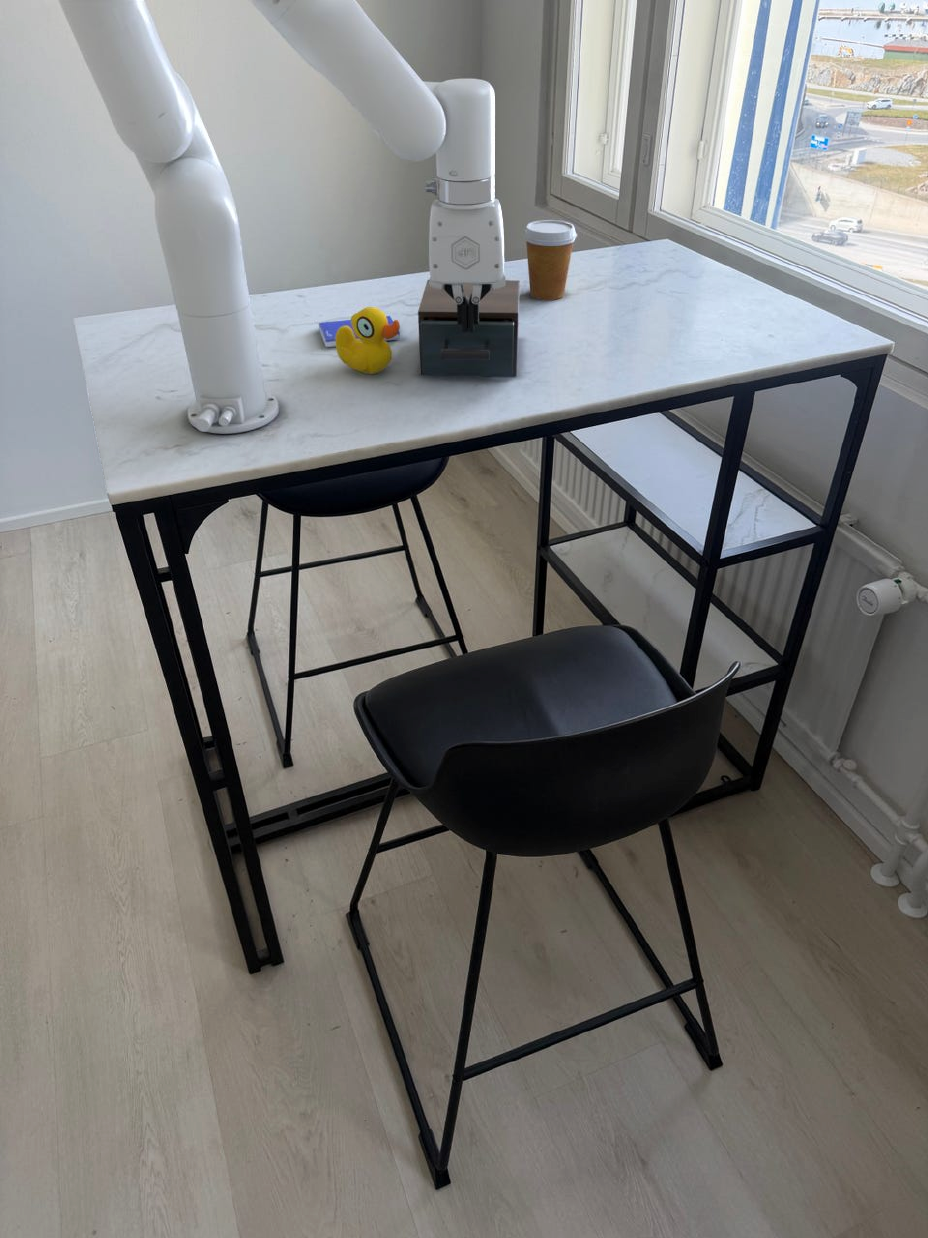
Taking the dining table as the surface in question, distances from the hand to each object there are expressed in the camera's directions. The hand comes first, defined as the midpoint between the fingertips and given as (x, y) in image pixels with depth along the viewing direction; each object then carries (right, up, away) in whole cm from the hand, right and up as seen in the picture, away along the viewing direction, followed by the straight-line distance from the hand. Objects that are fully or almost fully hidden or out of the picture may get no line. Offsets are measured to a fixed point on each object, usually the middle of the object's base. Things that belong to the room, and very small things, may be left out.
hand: (468, 328), depth 125 cm
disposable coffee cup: (+15, +19, +37) cm, 44 cm away
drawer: (0, -2, +9) cm, 10 cm away
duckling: (-15, -3, +10) cm, 19 cm away
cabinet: (+1, 0, +14) cm, 14 cm away
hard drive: (-18, +6, +22) cm, 29 cm away
